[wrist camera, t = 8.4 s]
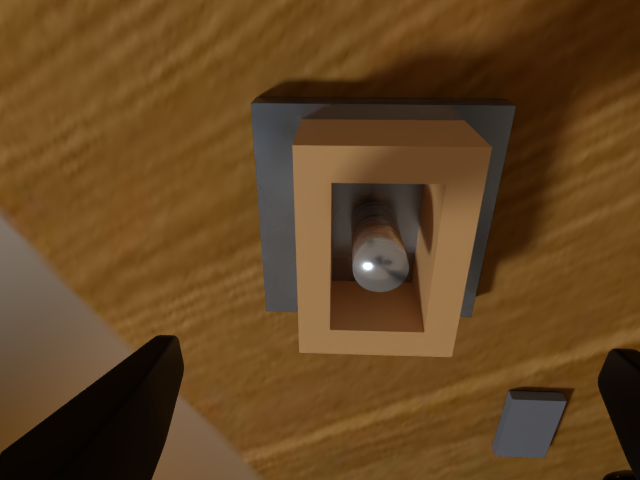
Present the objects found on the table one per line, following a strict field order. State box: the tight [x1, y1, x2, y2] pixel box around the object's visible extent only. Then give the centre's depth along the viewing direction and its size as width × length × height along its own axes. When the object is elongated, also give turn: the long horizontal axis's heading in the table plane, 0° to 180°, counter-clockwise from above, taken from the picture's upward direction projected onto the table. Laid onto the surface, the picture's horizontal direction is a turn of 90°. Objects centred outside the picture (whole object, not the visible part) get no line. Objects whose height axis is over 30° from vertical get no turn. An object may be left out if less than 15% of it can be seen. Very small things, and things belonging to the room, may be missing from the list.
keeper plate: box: [251, 97, 516, 317], centre depth 14 cm, size 8×8×4 cm
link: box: [292, 119, 492, 357], centre depth 14 cm, size 7×5×3 cm
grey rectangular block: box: [492, 391, 567, 458], centre depth 21 cm, size 4×2×1 cm, turn 0°
